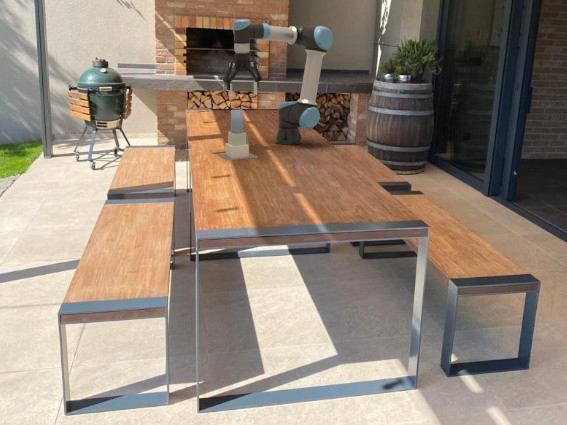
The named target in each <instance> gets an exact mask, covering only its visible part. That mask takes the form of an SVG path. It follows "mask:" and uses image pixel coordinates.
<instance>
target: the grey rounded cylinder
mask: <svg viewBox="0 0 567 425" xmlns="http://www.w3.org/2000/svg"><path fill="white" fill-rule="evenodd" d="M230 132H231V133H234V134H240V133H243V132H244V110H243V109H231V110H230Z"/></svg>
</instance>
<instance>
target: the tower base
mask: <svg viewBox="0 0 567 425" xmlns="http://www.w3.org/2000/svg"><path fill="white" fill-rule="evenodd" d="M249 153H250V145H247V144H246V145H242V146H232V145H230V144H228V142H226V143H225V154H226V155H227V156H228V157H230V158H232V159H233V158H245V157H249Z"/></svg>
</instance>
